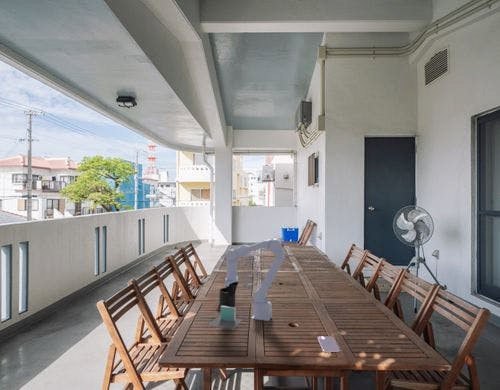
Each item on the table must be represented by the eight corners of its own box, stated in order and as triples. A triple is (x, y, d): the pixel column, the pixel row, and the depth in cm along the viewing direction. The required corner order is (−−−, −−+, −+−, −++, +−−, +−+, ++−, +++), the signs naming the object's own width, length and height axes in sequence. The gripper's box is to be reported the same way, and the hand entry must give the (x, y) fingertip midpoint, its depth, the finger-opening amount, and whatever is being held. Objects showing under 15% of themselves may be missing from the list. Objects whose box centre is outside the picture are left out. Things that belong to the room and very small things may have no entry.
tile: (235, 320, 173) (235, 307, 173) (234, 321, 172) (234, 308, 172) (221, 318, 176) (221, 305, 176) (220, 319, 174) (220, 306, 174)
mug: (217, 309, 191) (217, 293, 191) (220, 301, 203) (221, 287, 203) (233, 309, 190) (233, 294, 190) (236, 302, 202) (236, 287, 202)
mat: (242, 320, 175) (242, 319, 175) (233, 330, 163) (233, 329, 163) (218, 316, 179) (218, 315, 179) (207, 326, 167) (207, 325, 167)
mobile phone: (323, 351, 141) (316, 335, 156) (323, 353, 141) (316, 337, 156) (341, 351, 141) (333, 335, 156) (341, 353, 141) (333, 337, 156)
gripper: (230, 267, 190) (230, 291, 190) (219, 273, 176) (219, 299, 177) (241, 268, 188) (241, 292, 188) (231, 275, 174) (231, 300, 174)
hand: (231, 295), depth 182 cm, fingers closed
